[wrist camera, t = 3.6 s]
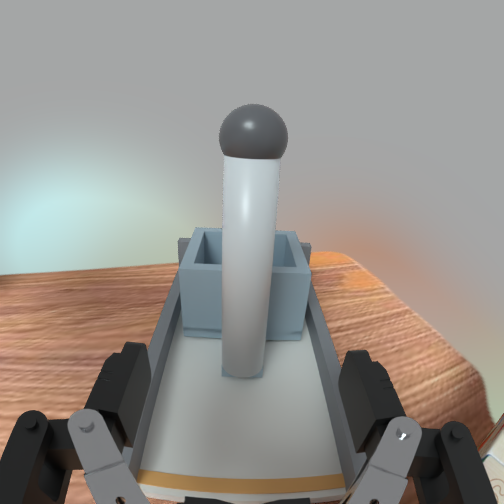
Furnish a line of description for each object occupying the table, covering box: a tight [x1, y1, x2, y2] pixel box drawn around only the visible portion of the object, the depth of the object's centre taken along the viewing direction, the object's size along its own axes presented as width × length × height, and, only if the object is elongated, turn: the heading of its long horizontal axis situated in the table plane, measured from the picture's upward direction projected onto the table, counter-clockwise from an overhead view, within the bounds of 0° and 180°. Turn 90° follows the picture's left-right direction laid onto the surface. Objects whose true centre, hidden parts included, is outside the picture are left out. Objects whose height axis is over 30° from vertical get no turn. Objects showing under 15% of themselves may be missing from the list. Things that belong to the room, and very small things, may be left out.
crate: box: [179, 104, 312, 378], centre depth 24 cm, size 10×15×18 cm
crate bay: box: [122, 238, 367, 504], centre depth 24 cm, size 14×25×6 cm, turn 1°
